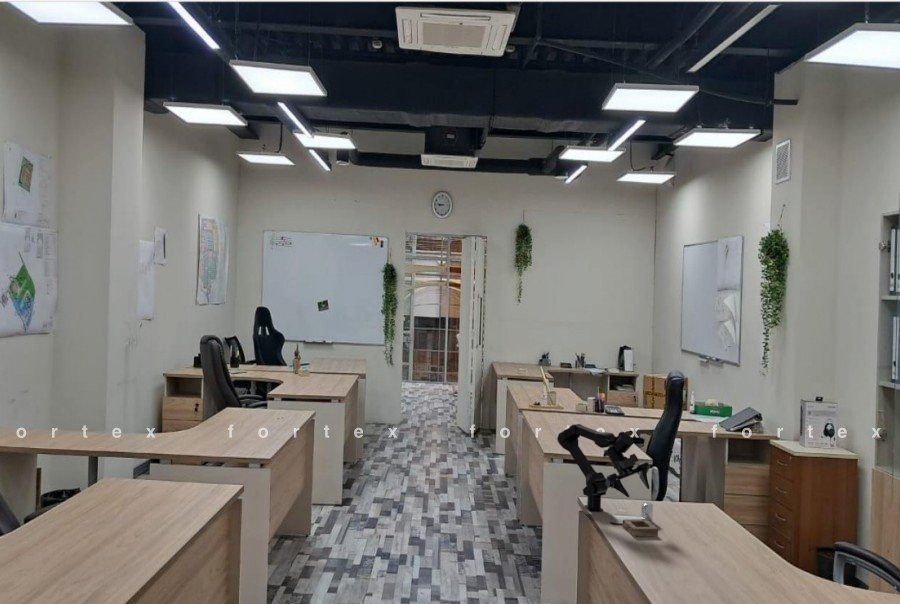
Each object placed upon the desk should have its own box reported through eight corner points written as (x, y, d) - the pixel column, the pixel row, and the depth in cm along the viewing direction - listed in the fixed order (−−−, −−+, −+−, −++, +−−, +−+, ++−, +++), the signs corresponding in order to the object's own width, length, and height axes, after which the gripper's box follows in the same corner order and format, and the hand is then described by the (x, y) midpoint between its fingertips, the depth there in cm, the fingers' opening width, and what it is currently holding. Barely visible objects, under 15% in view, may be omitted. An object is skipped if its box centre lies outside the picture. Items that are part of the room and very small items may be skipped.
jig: (622, 527, 252) (622, 519, 251) (646, 526, 253) (646, 519, 253) (633, 536, 242) (633, 529, 242) (657, 536, 243) (658, 528, 243)
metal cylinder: (639, 519, 261) (640, 502, 261) (649, 518, 262) (650, 502, 262) (643, 523, 257) (644, 506, 257) (654, 522, 257) (654, 505, 257)
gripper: (601, 457, 252) (622, 491, 242) (641, 442, 256) (663, 475, 246) (597, 470, 260) (617, 504, 250) (636, 455, 264) (657, 488, 254)
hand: (639, 492), depth 250 cm, fingers open, 9 cm apart
